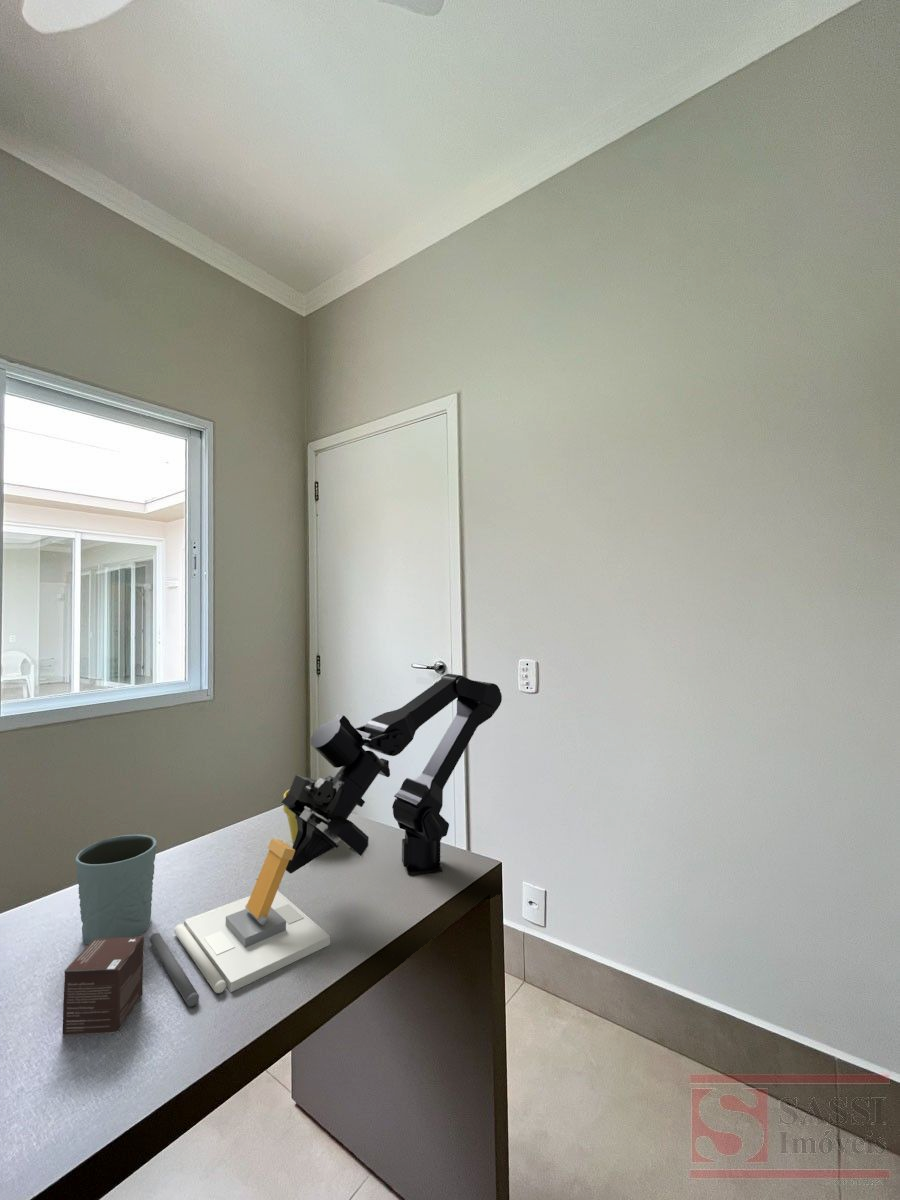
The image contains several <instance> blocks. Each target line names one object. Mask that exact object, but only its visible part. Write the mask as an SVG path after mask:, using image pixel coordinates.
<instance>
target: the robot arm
mask: <svg viewBox="0 0 900 1200" xmlns="http://www.w3.org/2000/svg"><path fill="white" fill-rule="evenodd" d="M455 700H456V714H455V716H454V717H453V720H452V722H451V723H450V725H448V728H447V729H446V731H445V733H444V735H443V737H442V738H441V739H440V741H439V743H438V745H437V747H436V749H435V750H434V752H433V754H432V755H431V757H430V758H429V760H428V762H427V764H426V766H425V767H424V768H423V770H422V772H421V774H420V775H419V776H418V777H416V778H415V779H411V778H409V777H406V778H405V779H404V781H403V782H402V784H401V786H400V788H399V790H398V791H397V792H396V793H395V794H394V796H393V797H394V798H395V799H394V801H393V803H392V807H391V808H392V815H393V818H394V820H395V821H396V822H397V825H398V827H399V829H401V830H404V838H402V840H401V862H402V865H403V867H404V868H405V871H406V873H407V874H408V875H418V874H419V875H420V874H427V873H437V872H442V871H443V866H442V863H441V841H442V839H443V838H444V837H447V835H448V831H449V828H450V822H448V821H447V820H446V819H445V818H444V817H443V816H442V815H441V814H440V813H441V811H442V808H443V803H444V802H443V801H444V800H443V799H444V797H443V794H444V793H443V792H444V788H445V786H446V784H447V783H448V780H449V779H450V777H451V775H452V774H453V772H454V770H455V768H456V766H457V764H458V762H459V760H460V759H461V758H462V756H463V754H464V752H465V751H466V748H467V746H468V745H469V743H470V741H471V740H472V738H473V736H474V734H475V732H476V730H477V728H478V727H479V726H481V725H482V724H483V723H485V722H486V721H488V720H489V719H491V718H492V717H493V716H494V714H495V713H496V712H497V710H498V709H499V707H500V706H501V703H502V701H503V695H502V692H501V689H500V687H499V686H498V685H497V684H496V683H492V682H485V681H478V680H473V679H470V678H468V677H466V676H464V675H460V674H453V673H446V674H443V675H442V676H441V677H440V680H438V681H436V682H435V683H433V684H432V685H431V686H429V687H428V688H427V689H426V690H424V691H423V692H422V693H420V694H418V695H417V696H415V697H414V698H413V699H412V700H410V701H409V702H407V703H405V705H403V706H402V707H399V708H398V709H394V710H390V711H387V712H383V713H381V714H380V715H377V716H375V717H373V718H371V719H369V721H368V722H366V723H365V725H361V726H359V727H354V726H353V724H351V722H350V720H349V719H348V717H346V716H345V715H343V714H339V713H337V714H336V715H335V716H334V717H333V718H332V719H329V720H327V721H324V723H322V724H321V725H320V726H318V727H317V728H315V730H314V732H313V733H312V735H311V737H310V746H311V747H312V748H313V749H314V750H315V751H316V752H317V753H318V754H320V756H321V757H323V758H324V759H325V760H326V761H327V762H328V763H329V764H330V765H331V766H332V767H333V768H337V769H338V768H340V769H339V770H338V772H337V773H336V774H335V776H334V777H333V776H331V775H328V776H326V777H325V778H322V777H319V778H318V779H317V780H316V779H314V778H310V777H307V776H303V775H300V774H297V773H296V774H295V776H294V778H293V781H292V783H291V785H290V787H289V789H290V790H289V789H288V790H289V792H288V794H287V796H286V797H285V798H284V800H283V799H282V801H281V804H282V805H284V806H286V807H287V808H288V809H289V810H290V811H292V812H293V813H294V814H295V819H296V820H297V827H298V832H297V835H296V839H295V842H294V843H293V844H292V848H293V849H294V850H295V853H294V856H293V858H292V860H289V862H288V865H287V867H286V870H285V872H287V873H289V874H290V875H291V874H293V873H295V872H296V871H297V870H299V869H301V868H302V867H304V866H306V865H307V864H309V863H310V862H312V861H314V860H315V859H317V858H319V857H320V856H323V855H325V854H326V853H328V852H329V851H332V850H334V849H336V850H337V849H339V848H340V845H338V843H339V841H340V840H341V841H342V842H343V843H344V844H345V845H346V846H347V847H349V850H350V851H351V852H353V853H354V854H355V855H358V856H359V857H362V856H363V855H364V853H365V851H366V850H367V849H368V847H369V841H370V840H369V835H368V834H366V833H365V832H364V831H363V830H361V829H360V828H359V827H358V826H357V825H356V824H355V823H354V822H352V821H351V820H349V819H348V818H349V817H350V815H351V813H352V812H354V809H355V808H356V806H358V807H360V808H362V807H363V806H364V804H365V803H366V801H365V800H364V799H363V797H364V795H365V794H366V792H367V791H368V790H369V788H370V787H371V785H372V784H373V782H374V780H376V778H377V777H378V775H380V776H384V777H386V778H389V777H390V776H391V770H390V761H389V760H387V759H385V758H382V757H379V756H378V755H377V754H376V753H375V752H377V753H380V754H383V755H386V756H389V757H397V755H399V754H401V753H402V752H403V751H404V750H405V748H407V747H408V745H409V744H411V742H412V741H413V740H414V736H415V735H416V731H418V729H419V728H420V727H421V726H423V725H424V724H425V723H427V722H428V721H429V720H431V718H433V717H434V716H435V715H437V714H438V713H439V712H440V711H442V710H443V709H444V708H445V707H447V706H448V705H449V704H451V703H453V701H455ZM363 747H366V748H368V749H369V750H365V748H363ZM374 751H375V752H374Z"/></svg>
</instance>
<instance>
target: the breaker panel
mask: <svg viewBox="0 0 900 1200" xmlns="http://www.w3.org/2000/svg"><path fill="white" fill-rule="evenodd" d="M250 896H251V895H248V896H246V897H244V898H240V899H237V900H234V901H232V902H229V903H227V904H223V905H221V906H218V907H216V908H213V909H211V910H208V911H205V912H202V913H200V914H197V915H194V916H191V917H188V918H186V919H184V920H183V921H184V924H183V925H184V926H185V927H186V929H187V930H188V931H189V933H190V934H191V936H192V937H193V938H194V940H195V941H196V942H197V944H198V945H199V947H200V948H201V949H202V951H203V952H204V953H205V955H206V956H207V957H208V959H209V960H210V962H211V963H212V964H213V966H214V967H215V968H216V970H217V971H218V972H219V974H220V975H221V977H222V978H223V979H224V981H225V982H226V988H227V989H228V990H229V992H230V993H232V992H233V993H234V991H237V990H239V989H241V988H242V987H245V986H247V985H249V984H251V983H254V982H255V981H258V980H260V979H261V978H263V977H266V976H267V975H270V974H272V973H274V972H275V971H278V970H280V969H283V968H284V967H287V966H288V965H290V964H293V963H295V962H296V961H298V960H301V959H303V958H305V957H308V956H309V955H312V954H313V953H316V952H317V951H320V950H322V949H324V948H326V947H328V946H330V945H331V936H330V935H329V933H327V932H326V931H325V930H324V929H323V928H322V927H320V926H319V925H318V924H317V923H316V922H315V921H313V919H311V918H310V917H309V916H308V915H306V914H305V913H304V912H303V911H302V910H301V909H300V908H299V907H297V906H296V905H295V904H294V903H293V902H291V901H290V900H289V899H288V898H287V897H286V896H285V895H284V894H282V893H281V892H280V891H279V889H278V890H277V893H276V895H275V898H274V900H273V903H272V905H271V908H270V911H269V913H268V916H267V921H266V923H265V924H264V925H261V924H260V923H259V922H258V921H257V920H256V919H255V918H254V917H253V916H252V915H251V914H250V913H249V912H248V911H247V910H246V908H245V906H246V904H247V903H248V901H249V899H250Z"/></svg>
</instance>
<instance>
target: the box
mask: <svg viewBox="0 0 900 1200" xmlns="http://www.w3.org/2000/svg"><path fill="white" fill-rule="evenodd" d="M144 939H145V937H144V936H136V937H124V938H98V939H93V941H92V942H91V943H90V944H89V945H87V946H86V947H85V948H84V949H83V950H82V952H80V953H79V954H78V956H77V957H76V958H75V959H74V960H73V961H72V962H71V963H70V964H69V965H68V966H67V968H66V969H65V970H64V981H63V982H64V983H63V985H64V986H63V1001H62V1002H63V1004H62V1005H63V1006H62V1033H61V1034H62V1035H63V1036H64V1037H69V1036H70V1037H72V1036H80V1035H81V1036H82V1035H97V1034H99V1035H100V1034H110V1035H111V1034H116V1033H118V1032H119V1031H120V1029H121V1027H122V1026H123V1025H124V1023H125V1022H126V1020H127V1019H128V1017H129V1015H130V1014H131V1013H132V1011H133V1010H134V1008H135V1006H136V1005H137V1003H138V1002H139V1001H140V999H141V997H142V996H143V991H144V990H143V989H144V988H143V983H144V982H143V981H144V978H143V977H144V949H145V948H144Z"/></svg>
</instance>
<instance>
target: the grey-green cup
mask: <svg viewBox="0 0 900 1200" xmlns="http://www.w3.org/2000/svg"><path fill="white" fill-rule="evenodd" d="M157 844H158V843H157V840H156V838H155V837H153V836H151V835H147V834H140V833H139V834H125V835H124V834H123V835H118V836H114V837H110V838H107V839H104V840H100V841H98V842H95V843H92V844H90V845H88V846H87V847H85V848H83V849H81V850H80V851H79V852H78V853H77V855H76V856H75V867H76V877H77V884H78V894H79V895H78V898H79V907H80V908H79V909H80V911H79V913H80V920H81V923H82V927H81V936H82V940H83V943H84V944H86V945H87V946H88V945H89V944H90V943H91V942H92V941H93V939H98V938H124V937H139V935H140V934H143V932H145V931H146V930H147V929H148V927H149V926H150V922H151V919H152V904H153V903H152V901H153V896H152V895H153V885H154V883H153V882H154V881H153V880H154V877H155V876H154V875H155V861H156V853H157Z"/></svg>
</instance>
